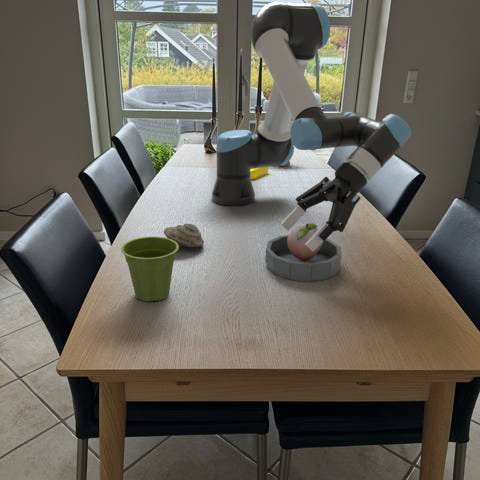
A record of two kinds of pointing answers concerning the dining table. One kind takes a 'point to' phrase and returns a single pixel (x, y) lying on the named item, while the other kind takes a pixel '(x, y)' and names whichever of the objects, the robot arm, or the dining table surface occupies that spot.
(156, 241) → the plant pot
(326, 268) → the bowl
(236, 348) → the dining table surface
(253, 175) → the element tile
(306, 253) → the decorative fruit
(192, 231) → the fossilized seashell
